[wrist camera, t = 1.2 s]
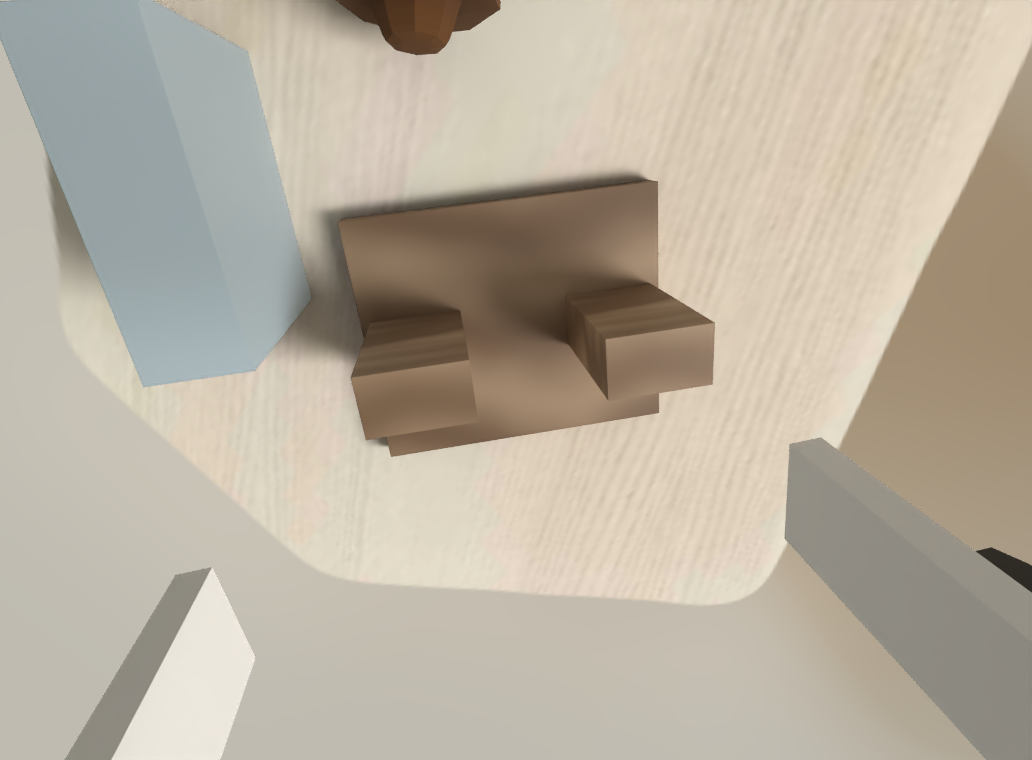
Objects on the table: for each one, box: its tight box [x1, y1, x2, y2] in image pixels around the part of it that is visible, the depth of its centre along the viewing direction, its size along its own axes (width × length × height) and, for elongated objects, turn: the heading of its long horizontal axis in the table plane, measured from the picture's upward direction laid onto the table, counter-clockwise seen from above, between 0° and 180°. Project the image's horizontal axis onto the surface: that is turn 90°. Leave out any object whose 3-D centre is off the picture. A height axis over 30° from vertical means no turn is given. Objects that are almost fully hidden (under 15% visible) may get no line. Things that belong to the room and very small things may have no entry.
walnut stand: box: [338, 180, 715, 457], centre depth 29 cm, size 14×17×9 cm
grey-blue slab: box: [0, 0, 312, 387], centre depth 23 cm, size 12×4×11 cm, turn 6°
